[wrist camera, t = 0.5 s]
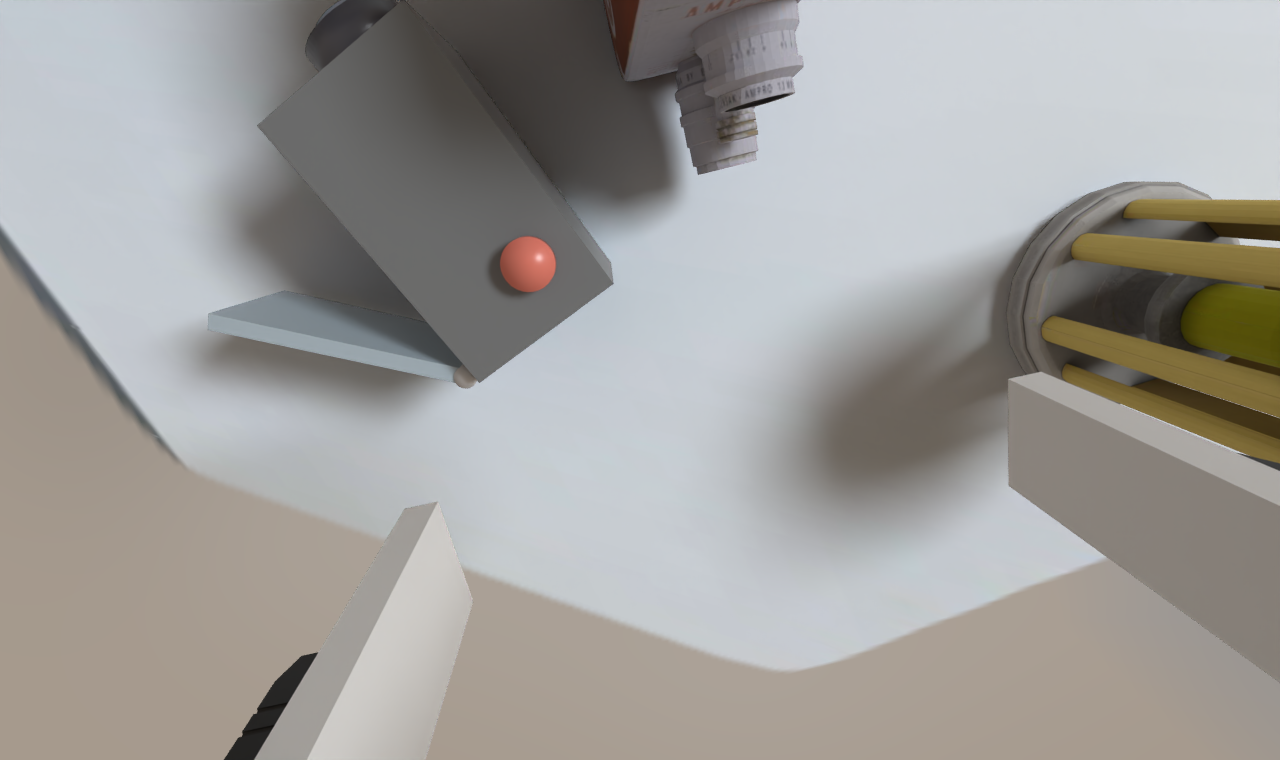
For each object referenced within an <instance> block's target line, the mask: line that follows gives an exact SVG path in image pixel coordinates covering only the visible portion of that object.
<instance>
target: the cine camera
mask: <svg viewBox="0 0 1280 760" xmlns="http://www.w3.org/2000/svg"><path fill="white" fill-rule="evenodd" d="M799 1H800V0H603V2H604V6H605V11H606V15H607V20H608V24H609V29H610V33H611V37H612V42H613V46H614V51H615V55H616V59H617V63H618V66H619V69H620V73H621V76H622V78H623V79H624V80H626V81H637V80H641V79H646V78H650V77H654V76H658V75H662V74H666V73H670V72H674V71H677V74H676V82H677V87H678V91H677V92H676V93H675V98H676V102H677V103H679V104H680V109H681V114H682V117H680V123H681V127H683V128H684V133H685V138H686V143H687V148H690V153H691V158H692V163H693V167H697V172H698V175H699V174H704V173H708V172H712V171H716V170H720V169H724V168H728V167H732V166H736V165H740V164H744V163H748V162H752V161H755V160H757V159H756V153H755V152H756V151H758V147H757V141H756V135H757V134H758V130H757V124H756V122H755V120H756V118H755V112H754V110H753V109H754V108H755V106H759V105H762V104H766V103H769V102H772V101H775V100H779V99H782V98H784V97H787V96H790V95H792V94H794V93H795V90H794V85H793V79H792V77H794V76H795V75H796V74H797V73H798V72H799V71H800V70H801V69H802V68H803V58H802V56H801V55H798V51H797V44H796V37H795V31H796V29H797V26H798V24H799V15H798V7H797V3H798V2H799Z"/></svg>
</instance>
